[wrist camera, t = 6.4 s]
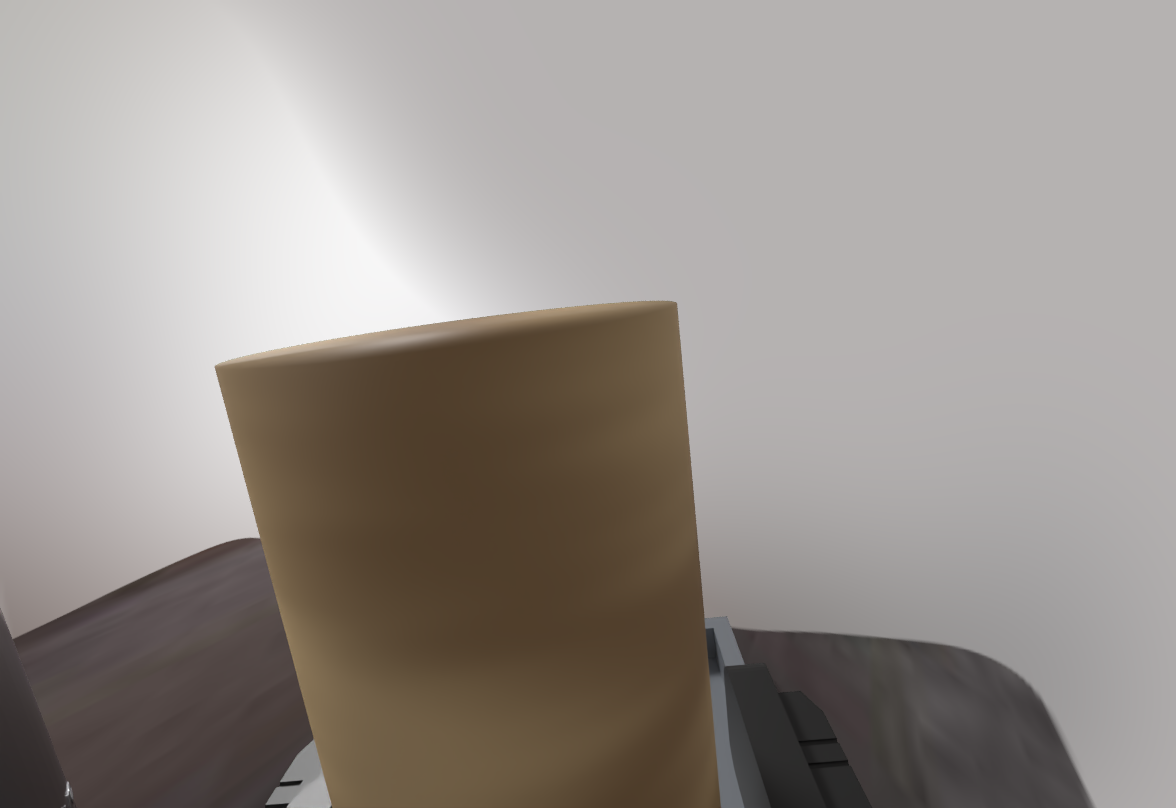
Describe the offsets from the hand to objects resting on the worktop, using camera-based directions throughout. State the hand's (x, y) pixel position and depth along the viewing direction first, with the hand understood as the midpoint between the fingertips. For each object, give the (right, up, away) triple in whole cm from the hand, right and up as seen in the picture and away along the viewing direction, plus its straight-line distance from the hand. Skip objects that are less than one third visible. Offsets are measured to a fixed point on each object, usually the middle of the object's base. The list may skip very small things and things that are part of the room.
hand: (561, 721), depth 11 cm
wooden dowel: (+1, -11, 0) cm, 11 cm away
